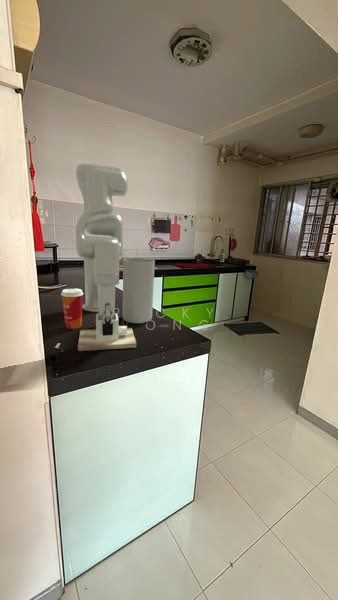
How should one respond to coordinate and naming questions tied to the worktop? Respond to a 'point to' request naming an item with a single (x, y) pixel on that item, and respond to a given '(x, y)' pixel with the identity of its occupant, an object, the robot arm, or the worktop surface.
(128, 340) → the board
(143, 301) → the cylinder vase
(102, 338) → the duct collar
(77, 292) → the paper cup
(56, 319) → the worktop surface
